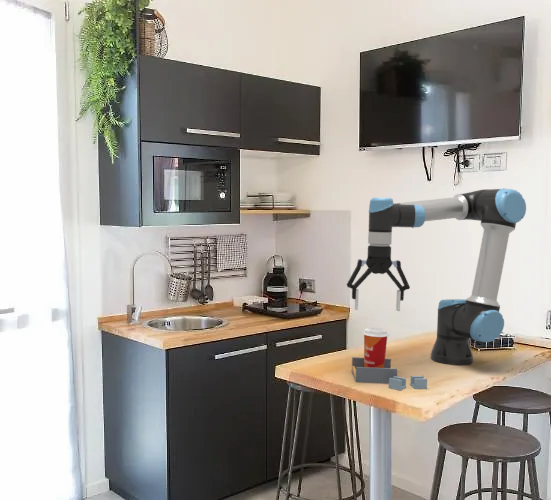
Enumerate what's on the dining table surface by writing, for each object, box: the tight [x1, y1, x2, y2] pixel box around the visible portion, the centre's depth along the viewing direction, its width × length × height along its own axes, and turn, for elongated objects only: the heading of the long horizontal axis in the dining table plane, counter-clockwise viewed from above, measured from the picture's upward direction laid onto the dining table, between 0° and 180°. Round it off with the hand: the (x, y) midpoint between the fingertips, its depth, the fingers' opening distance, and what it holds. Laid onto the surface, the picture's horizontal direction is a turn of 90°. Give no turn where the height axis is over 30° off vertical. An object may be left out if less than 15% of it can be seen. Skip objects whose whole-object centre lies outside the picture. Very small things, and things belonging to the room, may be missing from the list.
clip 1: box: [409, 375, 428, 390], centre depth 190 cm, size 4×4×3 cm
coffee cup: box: [362, 327, 389, 368], centre depth 199 cm, size 8×8×15 cm
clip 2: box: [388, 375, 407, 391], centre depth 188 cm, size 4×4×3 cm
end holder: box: [351, 356, 398, 385], centre depth 199 cm, size 13×14×5 cm
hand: (377, 309), depth 198 cm, fingers open, 13 cm apart
